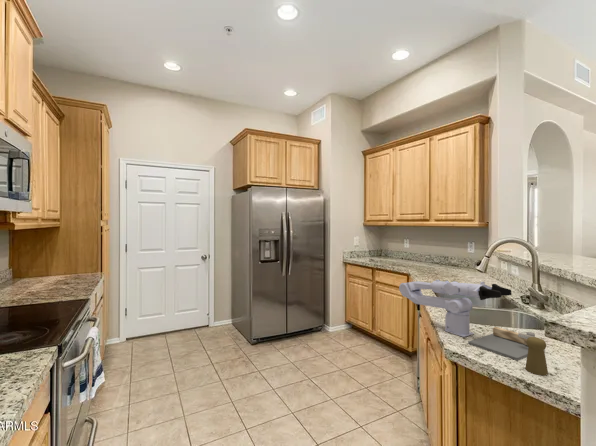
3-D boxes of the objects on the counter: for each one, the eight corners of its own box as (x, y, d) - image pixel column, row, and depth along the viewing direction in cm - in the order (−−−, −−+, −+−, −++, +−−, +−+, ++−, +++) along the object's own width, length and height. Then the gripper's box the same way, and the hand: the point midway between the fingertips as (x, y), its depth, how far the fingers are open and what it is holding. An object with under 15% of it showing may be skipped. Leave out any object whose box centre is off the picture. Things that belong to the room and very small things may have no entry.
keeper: (518, 346, 118) (518, 333, 118) (520, 345, 119) (520, 332, 119) (533, 351, 114) (533, 337, 114) (535, 350, 115) (535, 336, 115)
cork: (537, 366, 104) (537, 334, 104) (553, 375, 98) (552, 341, 98) (520, 367, 104) (520, 335, 104) (535, 375, 97) (534, 341, 98)
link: (539, 345, 118) (539, 338, 118) (534, 347, 116) (534, 340, 116) (497, 333, 132) (497, 326, 132) (491, 335, 130) (491, 328, 130)
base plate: (468, 343, 124) (468, 329, 124) (494, 335, 134) (494, 321, 134) (517, 360, 108) (517, 344, 108) (543, 349, 118) (543, 334, 118)
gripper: (461, 282, 128) (495, 285, 117) (480, 279, 135) (514, 281, 124) (462, 299, 128) (496, 303, 116) (482, 295, 135) (516, 299, 123)
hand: (505, 293), depth 120 cm, fingers open, 7 cm apart
